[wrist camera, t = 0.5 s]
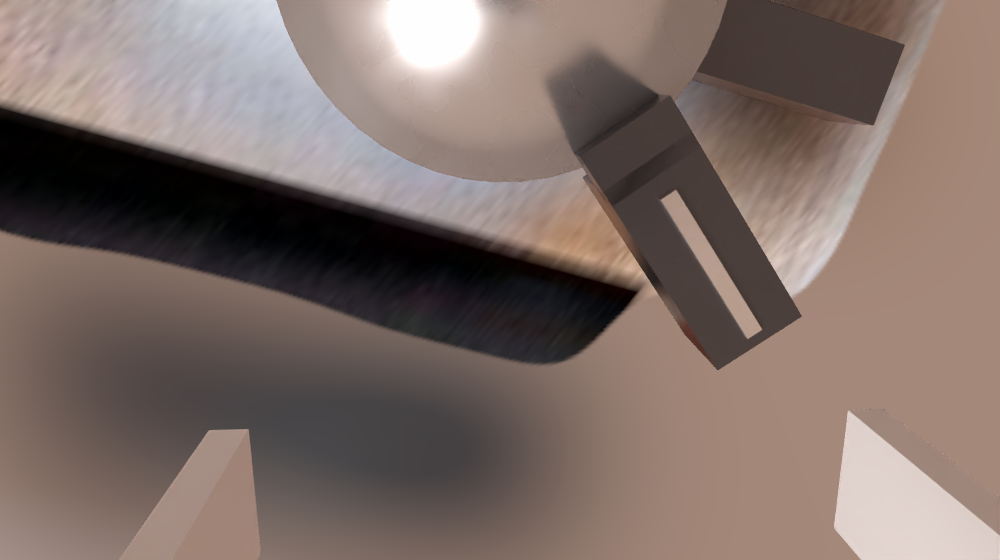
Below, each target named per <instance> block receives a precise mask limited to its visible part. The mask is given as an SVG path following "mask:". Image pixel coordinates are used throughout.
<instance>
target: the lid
mask: <svg viewBox="0 0 1000 560" xmlns="http://www.w3.org/2000/svg"><path fill="white" fill-rule="evenodd" d="M277 3H278V6H279V9H280V12H281V15H282V18H283V21H284V24H285V27H286V29H287V31H288V34H289V36H290V38H291V40H292V42H293V44H294V46H295V48H296V50H297V52H298V55H299V57H300V58H301V60H302V61H303V63H304V65H305V66H306V68H307V69H308V71H309V72H310V74H311V76H312V77H313V79H314V80H315V82H316V83H317V85H318V86H319V87H320V88H321V90H322V91H323V92H324V93H325V94H326V96H327V97H328V98H329V99H330V100H331V102H332V103H333V104H334V105H335V107H336V108H337V109H338V110H339V111H340V112H342V113H343V114H344V115H345V116H346V117H347V118H348V119H349V120H350V121H351V122H352V123H353V124H354V125H355V126H356V127H357V128H358V129H360V130H361V131H362V132H364V133H365V134H367V135H368V136H369V137H371V138H372V139H373V140H375V141H376V142H377V143H379V144H380V145H382V146H383V147H385V148H386V149H388V150H390V151H392V152H394V153H396V154H397V155H399V156H401V157H403V158H405V159H406V160H408V161H410V162H413V163H415V164H418V165H421V166H423V167H426V168H428V169H431V170H433V171H436V172H439V173H443V174H447V175H451V176H455V177H459V178H463V179H471V180H479V181H488V182H522V181H529V180H535V179H542V178H549V177H553V176H556V175H560V174H563V173H567V172H570V171H574V170H577V169H579V168H582V167H583V168H584V170H585V172H586V173H587V175H585V176H584V177H583V179H584V180H585V182H586V183H587V185H588V186H589V188H590V190H591V191H592V193H593V194H594V196H595V197H596V199H597V200H598V202H599V203H600V205H601V206H602V208H603V210H604V211H605V213H606V214H607V216H608V217H609V219H610V220H611V222H612V223H613V225H614V227H615V228H616V230H617V231H618V233H619V234H620V236H621V237H622V239H623V240H624V242H625V243H626V245H627V247H628V248H629V250H630V251H631V253H632V254H633V256H634V257H635V259H636V260H637V262H638V264H639V265H640V267H641V268H642V270H643V271H644V273H645V274H646V276H647V277H648V279H649V280H650V282H651V284H652V285H653V287H654V288H655V290H656V291H657V293H658V294H659V296H660V297H661V299H662V300H663V302H664V304H665V305H666V307H667V308H668V310H669V311H670V313H671V314H672V316H673V318H674V319H675V321H676V322H677V324H678V325H679V327H680V328H681V330H682V331H683V333H684V334H685V336H686V337H687V338H688V339H689V340H690V341H691V342H692V343H693V344H694V345H695V346H696V347H697V349H698V350H699V351H700V352H701V353H702V354H703V355H704V356H705V357H706V358H707V359H708V360H709V361H710V363H711V364H712V365H713V366H714V367H715V368H716V369H717V370H719V369H721V368H722V367H724V366H725V365H727V364H728V363H730V362H731V361H733V360H734V359H736V358H738V357H739V356H741V355H742V354H744V353H745V352H747V351H749V350H750V349H752V348H753V347H755V346H756V345H758V344H760V343H761V342H763V341H764V340H766V339H767V338H769V337H770V336H772V335H773V334H775V333H777V332H778V331H780V330H781V329H783V328H784V327H786V326H788V325H789V324H791V323H792V322H794V321H795V320H797V319H798V318H800V317H801V314H800V312H799V311H798V309H797V307H796V306H795V304H794V302H793V301H792V299H791V297H790V295H789V294H788V292H787V290H786V289H785V287H784V285H783V284H782V282H781V280H780V279H779V277H778V275H777V274H776V272H775V270H774V269H773V267H772V265H771V264H770V262H769V260H768V259H767V257H766V255H765V254H764V252H763V250H762V248H761V247H760V245H759V243H758V242H757V240H756V238H755V237H754V235H753V233H752V232H751V230H750V228H749V227H748V225H747V223H746V222H745V220H744V218H743V217H742V215H741V213H740V212H739V210H738V208H737V207H736V205H735V203H734V201H733V200H732V198H731V196H730V195H729V193H728V191H727V190H726V188H725V186H724V185H723V183H722V181H721V180H720V178H719V176H718V175H717V173H716V171H715V170H714V168H713V166H712V165H711V163H710V161H709V159H708V158H707V156H706V154H705V153H704V151H703V149H702V148H701V146H700V144H699V143H698V141H697V139H696V138H695V136H694V134H693V133H692V131H691V129H690V128H689V126H688V124H687V123H686V121H685V119H684V118H683V116H682V114H681V112H680V111H679V109H678V107H677V106H676V104H675V102H674V101H675V100H676V99H677V98H678V96H679V95H680V94H681V92H682V91H683V90H684V89H685V87H686V86H687V85H688V83H689V82H690V81H691V79H692V78H693V76H694V74H695V73H696V71H697V69H698V68H699V66H700V64H701V63H702V61H703V59H704V58H705V56H706V54H707V52H708V50H709V48H710V45H711V43H712V41H713V39H714V37H715V34H716V32H717V30H718V28H719V25H720V22H721V19H722V16H723V12H724V9H725V6H726V3H727V0H277Z"/></svg>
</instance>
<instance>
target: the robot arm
mask: <svg viewBox="0 0 1000 560" xmlns="http://www.w3.org/2000/svg"><path fill="white" fill-rule="evenodd" d="M257 521H258V520H257V510H256V500H255V490H254V480H253V469H252V460H251V449H250V439H249V430H248V429H237V430H209V431H208V433H207V434H206V435H205V437H204V438H203V440H202V441H201V443H200V444H199V445H198V447H197V448H196V450H195V451H194V453H193V454H192V456H191V457H190V458H189V460H188V461H187V463H186V464H185V466H184V467H183V468H182V470H181V471H180V473H179V474H178V476H177V477H176V479H175V480H174V481H173V483H172V485H171V486H170V487H169V488H168V490H167V491H166V493H165V494H164V496H163V497H162V499H161V500H160V501H159V503H158V504H157V506H156V507H155V509H154V510H153V512H152V513H151V514H150V516H149V517H148V519H147V520H146V522H145V523H144V524H143V526H142V527H141V529H140V530H139V531H138V533H137V534H136V536H135V537H134V539H133V540H132V542H131V543H130V544H129V546H128V547H127V549H126V550H125V552H124V553H123V555H122V556H121V557H120V559H119V560H257V559H258V556H259V554H260V542H259V531H258V522H257ZM834 528H835V529H836V531H837V532H838V533H839V534H840V535H841V537H842V538H843V539H844V540H845V541H846V542H847V544H848V545H849V546H850V547H851V548H852V549H853V551H854V552H855V553H856V554H857V555H858V556H859V558H860V559H861V560H1000V496H998V495H997V494H996V493H994V492H993V491H992V490H990V489H989V488H988V487H986V486H985V485H984V484H982V483H981V482H980V481H979V480H977V479H976V478H975V477H973V476H972V475H971V474H969V473H968V472H967V471H965V470H964V469H963V468H961V467H960V466H959V465H957V464H956V463H955V462H953V461H952V460H951V459H949V458H948V457H947V456H946V455H944V454H943V453H942V452H940V451H939V450H938V449H936V448H935V447H934V446H932V445H931V444H930V443H928V442H927V441H926V440H924V439H923V438H922V437H920V436H919V435H918V434H916V433H915V432H914V431H912V430H911V429H910V428H908V427H907V426H906V425H904V424H903V423H902V422H901V421H899V420H898V419H897V418H895V417H894V416H892V415H891V414H890V413H889V412H887V411H886V410H885V409H868V410H848V417H847V425H846V433H845V441H844V450H843V459H842V466H841V475H840V483H839V492H838V500H837V508H836V516H835V526H834Z"/></svg>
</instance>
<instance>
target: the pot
mask: <svg viewBox="0 0 1000 560" xmlns="http://www.w3.org/2000/svg"><path fill="white" fill-rule="evenodd" d="M904 46H905V45H904V44H901V43H898V42H894V41H891V40H888V39H885V38H882V37H879V36H876V35H873V34H870V33H866V32H863V31H860V30H857V29H854V28H851V27H848V26H845V25H842V24H839V23H835V22H832V21H829V20H826V19H823V18H820V17H817V16H814V15H811V14H807V13H804V12H801V11H798V10H795V9H792V8H789V7H786V6H783V5H780V4H776V3H773V2H770V1H767V0H727V3H726V6H725V9H724V12H723V16H722V19H721V22H720V25H719V28H718V30H717V32H716V34H715V37H714V39H713V41H712V43H711V45H710V48H709V50H708V52H707V54H706V56H705V58H704V59H703V61H702V63H701V64H700V66H699V68H698V69H697V71H696V73H695V74H694V76H693V78H692V79H691V80H694V81H698V82H701V83H704V84H708V85H711V86H714V87H717V88H721V89H724V90H727V91H731V92H734V93H737V94H741V95H744V96H747V97H750V98H754V99H757V100H760V101H764V102H767V103H770V104H773V105H777V106H780V107H783V108H787V109H790V110H793V111H797V112H800V113H803V114H806V115H810V116H813V117H816V118H820V119H823V120H826V121H833V122H843V123H853V124H863V125H874V123H875V120H876V118H877V115H878V112H879V110H880V107H881V105H882V102H883V100H884V97H885V94H886V92H887V89H888V87H889V84H890V82H891V79H892V77H893V74H894V71H895V69H896V66H897V64H898V61H899V59H900V56H901V53H902V51H903V48H904Z"/></svg>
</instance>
